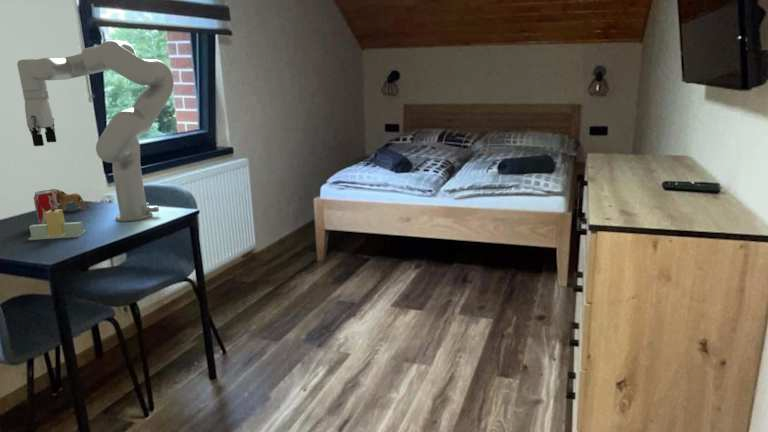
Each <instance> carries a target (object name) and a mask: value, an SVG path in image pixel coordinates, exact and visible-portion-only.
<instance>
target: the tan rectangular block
mask: <svg viewBox="0 0 768 432" xmlns="http://www.w3.org/2000/svg"><path fill="white" fill-rule="evenodd" d="M44 214H45V219H46V224H47V229H48V233H49V236H59V235H63V234H64V233H65V232H64V227H63V224H65V223H66V221H65V215H64V211H63V210H62V208H61V209H57V210H55V206H51V210H49V211H47V212H45V213H44Z"/></svg>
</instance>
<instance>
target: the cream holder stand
mask: <svg viewBox="0 0 768 432" xmlns="http://www.w3.org/2000/svg"><path fill="white" fill-rule="evenodd" d="M83 225H84V224H83V222H82V221H75V222H65V224H63V227H64V232H65V233H64V234H63V235H59V236H49V233H48V229H47V224H39V223H38V224H31V225H30V226H28V227H29V231H30V237H28V241H37V240H53V239H67V238H80V237H81V236H83V235H84V234H85V233H86V232H87V229H84V226H83Z"/></svg>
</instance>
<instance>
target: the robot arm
mask: <svg viewBox="0 0 768 432" xmlns="http://www.w3.org/2000/svg"><path fill="white" fill-rule="evenodd" d="M16 66H17V70H18V75H19V79H20V84H21V89H22V94H23V95H22V96H23V100H24V111H25V118H26V125H27V128H28V129H29V132H30V135H31V137H32V139H31V140H32V142H33V143H32V144H33V146H34V147H42V146H45V143H44V138H43V133H42V129H44V130H45V131H44V135H45V140H46V142H47V143H56V142H57V137H56V129H55V119H54V117H53V113H52V109H51V106H50V102H49V99H50V97H49V92H48V87H47V82H46V81H60V80H61V81H62V80H71V79H74V78H80V77H84V76H88V75H94V74H97V73H101V72H105V71H110V70H111V71H113V72H115V73H117V74H119V75H120V76H122V77H123V78H125V79H126V80H129V81H130V82H132V83H134V84H136V85H139V86H146V87H145V88H144V89H143V90H142V92H141V93H140V95H139V96H138V98H137V99H136V100H135V102H134V103H133V105H132V106H131V107H130V108H128V109H122V110H121V111H118V112H117V113H116V114H115V115H113V117H112V118H111V119H110V121H109V122H108V124H107V125H106V127H105V128H104V130H103V132H102V133H101V135H100V136H99V138H98V140H97V142H96V143H95V144H96V145H95V151H96V154H97V156H98V158H99V159H100V160H102V161H103V162H105V163H109V164H110V163H111V164H112V166H111V167H112V177H113V182H114V186H115V187H114V188H115V194H116V199H117V206H118V212H119V213H118V214H117V215H115V220H116V221H118V222H135V221H141V220H145V219H147V218H150V217H152V216H153V213H157V212H159V211H160V209H159V208H160V207H159V206H158V205H152V206H151V205H150V203H149V202H147V200H146V193H145V188H144V187H145V186H144V181H143V173H142V165H141V143H140V142H139V139H138V138H137V137H140V136H142V135H145V134H146V133H148V132H149V131H150V129H151V127H152V125H154V122H156V119H157V118H158V117H159V115H160V114H161V112H162V110H163V108H164V107H165V105H166V104H167V102H168V101H169V100H170V98H171V95H172V93H173V90H174V76H173V73H172V71H171V69H170V68H169V66H168V65H167V64H166V63H165V62H164V61H161V60H158V59H153V58H150V59H149V58H148V59H146V58H141V57H140V56H138V55H137V52H136V51H135V48H134V47H133V46H132V44H130V43H129V42H127V41H123V40H109V39H108V40H105V41H103V42H102V43H100V44H99V45H95V46H89V47H86V48H83V49H82V51H81V53H79V54H74V55H71V56H65V57H43V58H38V59H33V58H31V59H29V58H28V59H19V60H18V61H17V65H16ZM41 133H42V134H41Z"/></svg>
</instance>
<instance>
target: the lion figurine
mask: <svg viewBox="0 0 768 432" xmlns="http://www.w3.org/2000/svg"><path fill="white" fill-rule="evenodd" d="M50 190H53V193H54V194H55V195H56V198H57V203H58V205H60V208H61V209H62V210H63V212H64V211H65V210H66V209H67V204H72V203H75V205H77V206H78V207H77V209H78V210H80V211H84V210H85V209H84V207H85V208H87V209H89V208H91V207H90V206H89V205H86V203H85V202H84V199H83V198H82V196H81V195H80V194H79V193H77V192H75V193H66V192H64V191H62V190H60V189H56V188H50Z"/></svg>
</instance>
